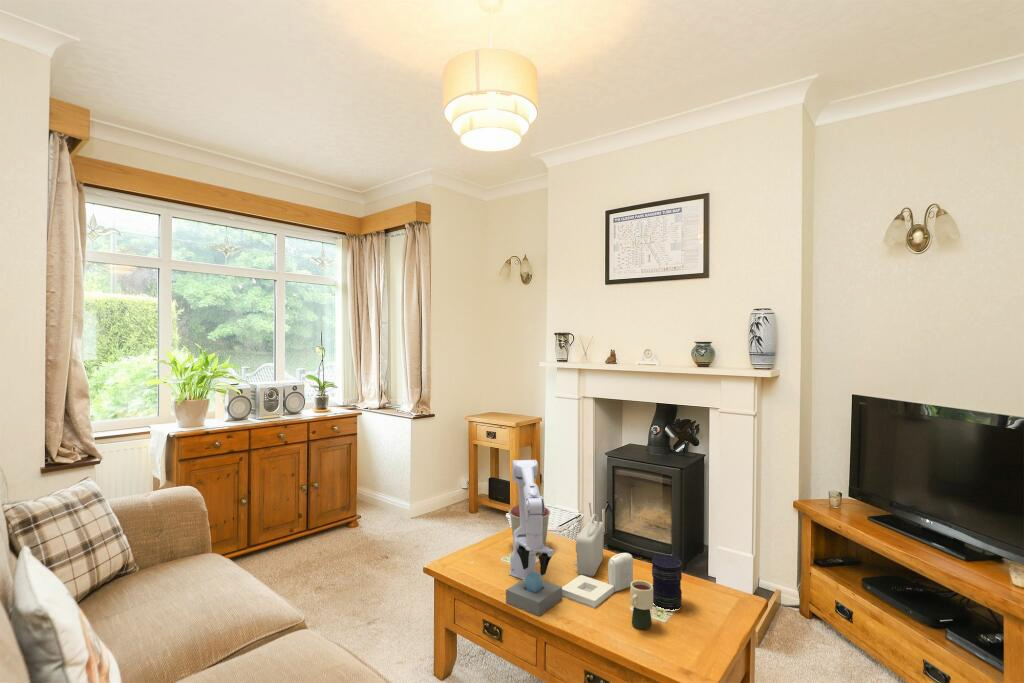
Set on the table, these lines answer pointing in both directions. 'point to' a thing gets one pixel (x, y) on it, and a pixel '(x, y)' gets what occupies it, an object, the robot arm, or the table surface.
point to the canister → (516, 521)
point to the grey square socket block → (534, 597)
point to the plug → (534, 582)
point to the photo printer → (620, 571)
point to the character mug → (641, 603)
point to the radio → (590, 546)
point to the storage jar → (667, 582)
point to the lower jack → (587, 591)
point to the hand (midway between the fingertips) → (534, 571)
